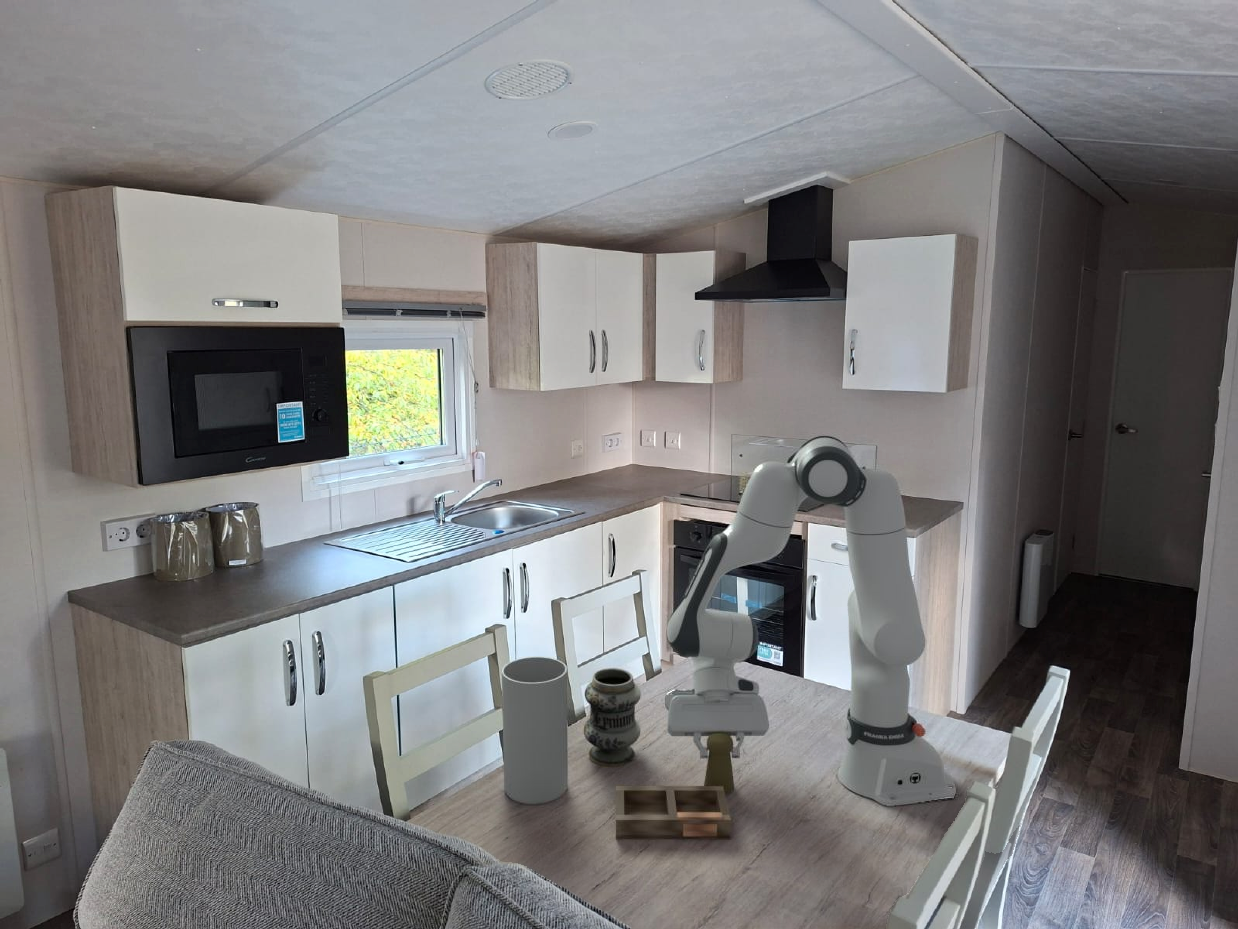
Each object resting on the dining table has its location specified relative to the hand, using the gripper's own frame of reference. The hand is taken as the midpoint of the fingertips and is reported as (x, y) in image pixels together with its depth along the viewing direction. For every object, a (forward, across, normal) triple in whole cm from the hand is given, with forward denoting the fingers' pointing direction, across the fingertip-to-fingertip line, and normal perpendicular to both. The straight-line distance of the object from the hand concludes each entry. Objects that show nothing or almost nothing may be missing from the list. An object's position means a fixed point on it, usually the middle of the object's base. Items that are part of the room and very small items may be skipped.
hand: (720, 757), depth 167 cm
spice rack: (+12, -10, -2) cm, 16 cm away
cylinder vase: (+4, -36, +5) cm, 37 cm away
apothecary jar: (-5, -21, +14) cm, 26 cm away
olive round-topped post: (+4, 0, +5) cm, 7 cm away
